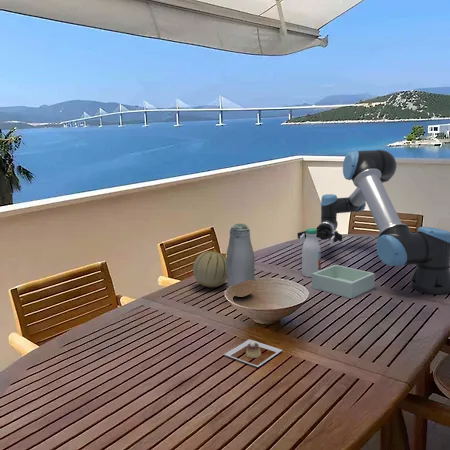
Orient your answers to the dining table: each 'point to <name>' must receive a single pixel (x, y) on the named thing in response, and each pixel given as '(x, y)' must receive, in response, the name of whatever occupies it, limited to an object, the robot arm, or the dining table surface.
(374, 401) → the dining table surface
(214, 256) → the cantaloupe
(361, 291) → the tote
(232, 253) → the glass bottle
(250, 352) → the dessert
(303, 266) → the milk bottle
